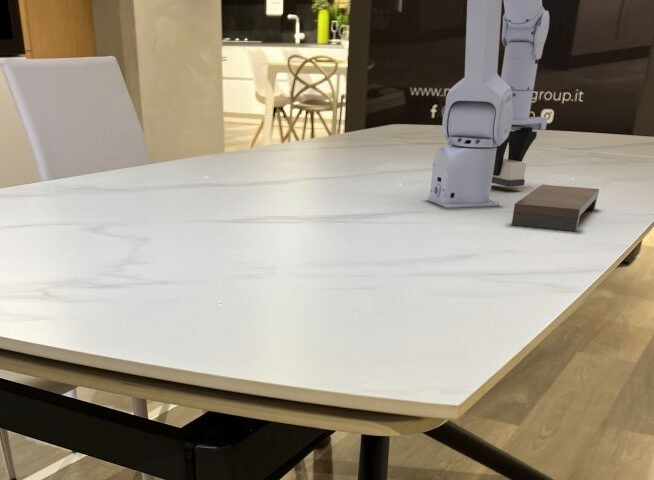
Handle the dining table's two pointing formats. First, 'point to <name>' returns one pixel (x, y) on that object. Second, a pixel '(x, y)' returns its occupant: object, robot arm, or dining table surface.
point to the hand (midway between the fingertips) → (503, 174)
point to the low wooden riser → (554, 207)
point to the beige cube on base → (511, 173)
